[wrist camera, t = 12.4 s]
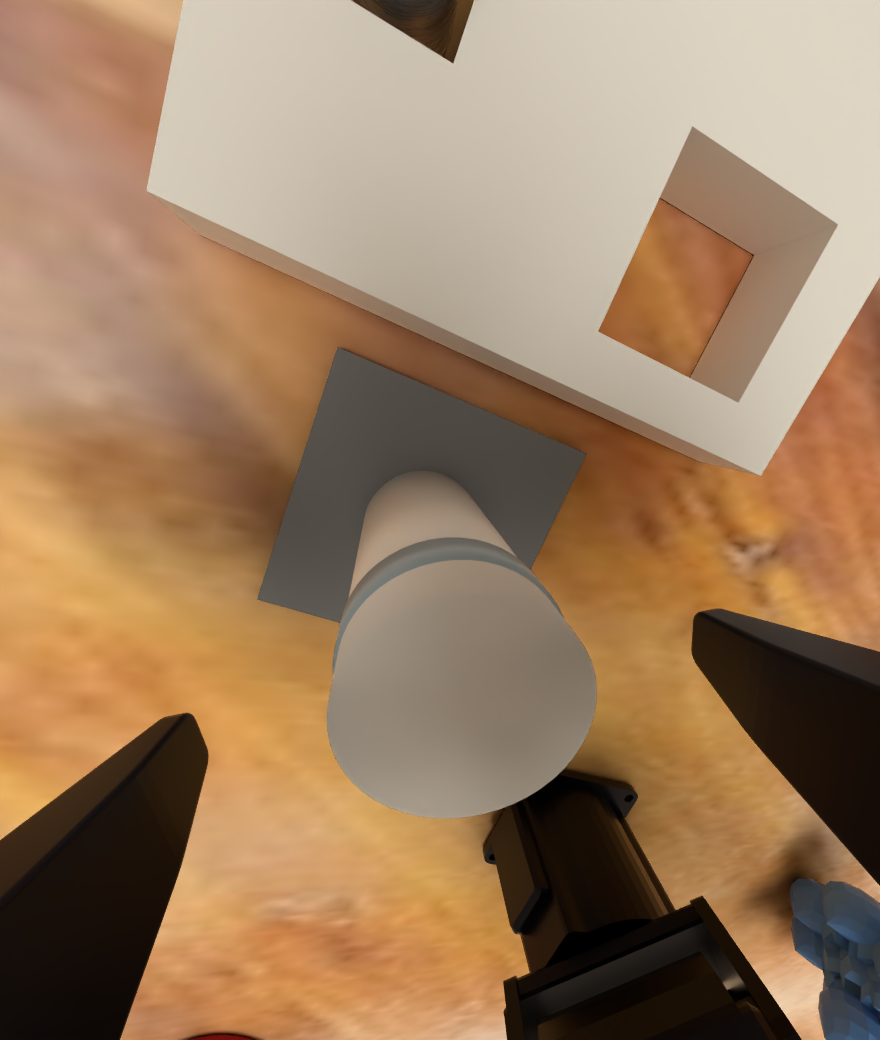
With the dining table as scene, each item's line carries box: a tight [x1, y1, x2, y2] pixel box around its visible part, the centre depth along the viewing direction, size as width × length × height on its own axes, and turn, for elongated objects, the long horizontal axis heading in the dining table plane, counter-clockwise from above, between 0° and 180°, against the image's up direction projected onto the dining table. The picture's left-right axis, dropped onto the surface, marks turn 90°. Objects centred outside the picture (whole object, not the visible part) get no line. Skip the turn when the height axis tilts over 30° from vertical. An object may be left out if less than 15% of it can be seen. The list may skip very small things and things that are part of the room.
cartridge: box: [327, 471, 597, 818], centre depth 12 cm, size 5×5×10 cm
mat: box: [257, 347, 586, 623], centre depth 17 cm, size 10×10×1 cm
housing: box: [147, 0, 880, 476], centre depth 12 cm, size 20×12×3 cm, turn 68°
